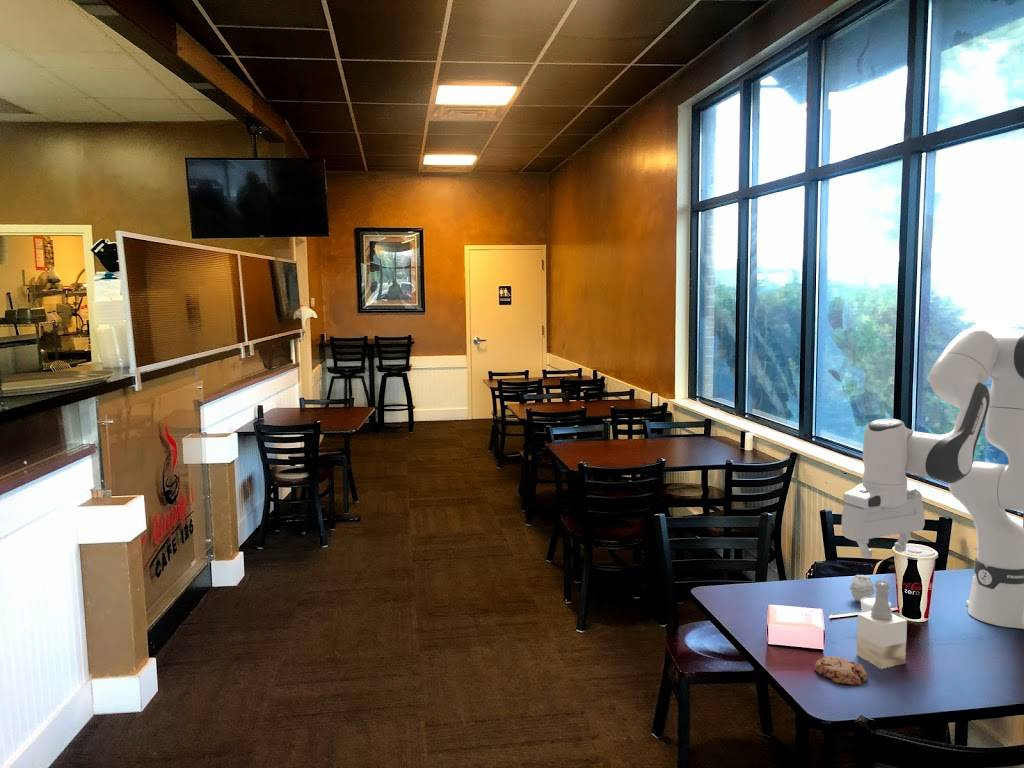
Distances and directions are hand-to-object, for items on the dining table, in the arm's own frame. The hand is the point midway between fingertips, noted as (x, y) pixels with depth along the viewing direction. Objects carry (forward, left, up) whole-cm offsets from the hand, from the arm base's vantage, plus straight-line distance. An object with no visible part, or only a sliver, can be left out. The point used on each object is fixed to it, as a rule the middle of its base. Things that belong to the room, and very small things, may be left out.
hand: (883, 554), depth 168 cm
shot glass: (-11, -13, -25) cm, 30 cm away
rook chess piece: (0, 0, -15) cm, 15 cm away
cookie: (+13, +2, -25) cm, 28 cm away
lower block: (0, 0, -25) cm, 25 cm away
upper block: (0, 0, -20) cm, 20 cm away
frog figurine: (-21, -28, -25) cm, 43 cm away
